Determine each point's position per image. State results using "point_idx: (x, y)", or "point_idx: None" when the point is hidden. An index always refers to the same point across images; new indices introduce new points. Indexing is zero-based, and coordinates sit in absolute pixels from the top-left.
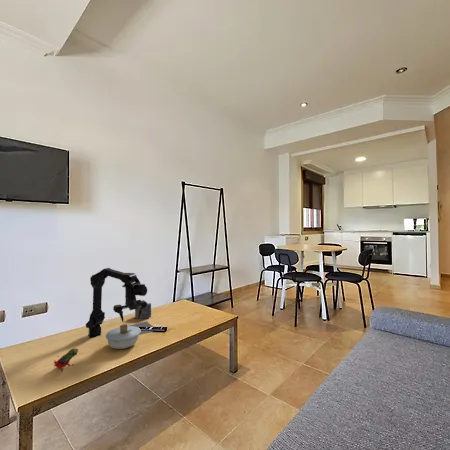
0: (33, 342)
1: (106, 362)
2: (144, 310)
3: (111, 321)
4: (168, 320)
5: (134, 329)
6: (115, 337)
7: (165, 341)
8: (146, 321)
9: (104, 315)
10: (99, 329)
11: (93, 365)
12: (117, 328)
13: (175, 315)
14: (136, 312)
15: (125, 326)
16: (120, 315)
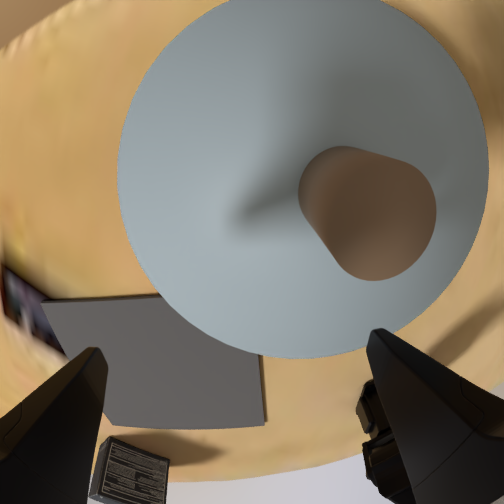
0: (498, 380)
1: (432, 15)
2: (119, 479)
3: (270, 469)
4: (16, 378)
5: (194, 212)
6: (445, 106)
7: (13, 96)
8: (113, 424)
9: (376, 480)
10: (376, 412)
11: (479, 43)
12: (356, 338)
13: (4, 398)
14: (161, 484)
15: (377, 160)
16: (496, 397)
